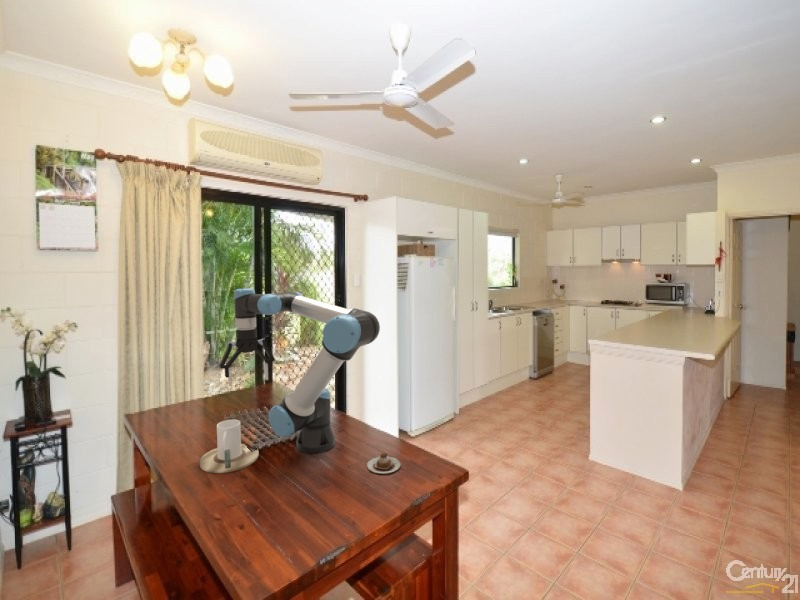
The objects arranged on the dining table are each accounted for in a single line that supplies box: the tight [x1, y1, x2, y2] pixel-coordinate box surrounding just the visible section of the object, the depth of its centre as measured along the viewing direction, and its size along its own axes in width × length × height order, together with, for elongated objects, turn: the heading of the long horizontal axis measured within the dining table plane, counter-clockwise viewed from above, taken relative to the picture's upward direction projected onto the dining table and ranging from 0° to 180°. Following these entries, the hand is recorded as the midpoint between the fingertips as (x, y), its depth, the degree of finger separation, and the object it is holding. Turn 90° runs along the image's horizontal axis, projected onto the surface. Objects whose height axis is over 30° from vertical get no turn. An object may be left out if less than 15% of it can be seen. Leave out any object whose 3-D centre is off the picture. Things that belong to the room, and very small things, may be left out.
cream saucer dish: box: [199, 443, 260, 474], centre depth 146 cm, size 20×20×7 cm
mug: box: [216, 419, 242, 460], centre depth 144 cm, size 12×8×12 cm
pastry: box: [366, 452, 401, 475], centre depth 141 cm, size 12×12×5 cm
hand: (248, 382), depth 154 cm, fingers open, 13 cm apart
